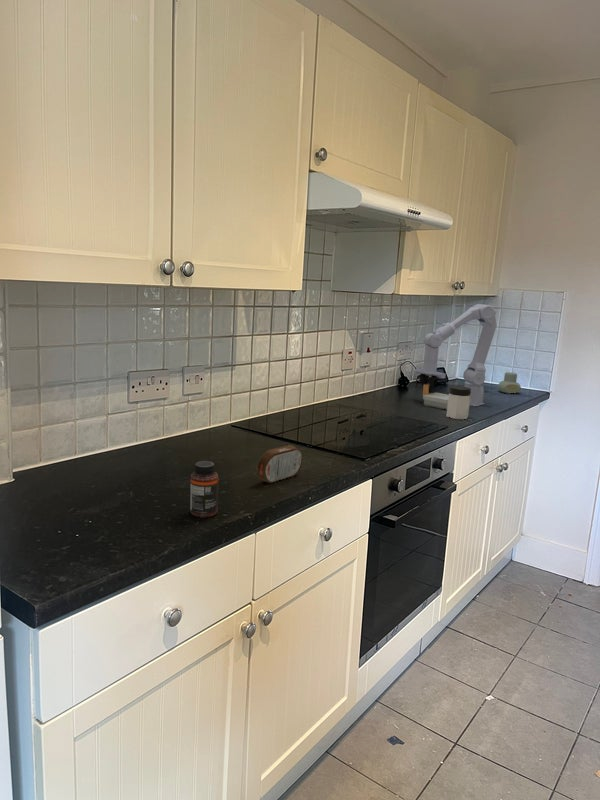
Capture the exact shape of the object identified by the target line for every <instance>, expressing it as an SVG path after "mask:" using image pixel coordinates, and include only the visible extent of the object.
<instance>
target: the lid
mask: <svg viewBox="0 0 600 800" xmlns="http://www.w3.org/2000/svg"><path fill="white" fill-rule="evenodd" d="M448 397H449V394H446V393H440V392H432V393H429V383H427V384H424V385H423V390H422V399H423V400H424V399H425V400H430V401H436V402H441V403H446V404H448ZM470 403H471V399H470Z"/></svg>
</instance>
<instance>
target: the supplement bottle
mask: <svg viewBox="0 0 600 800" xmlns="http://www.w3.org/2000/svg"><path fill="white" fill-rule="evenodd" d="M194 465H195V466H194V471H193V472H192V473H191V475H190V485H189V487H190V491H189V492H190V494H189V495H190V499H189V500H190V501H189V505H190V507H189V512H190V514H191V515H192V516H194V517H197V518H211V517H213V516H215V515H216V514H217V513H218V510H219V509H218V508H219V507H218V506H219V474H218V473H217V472H216V471H215V463H214V462H212V461H208V460H202V461H200V460H199V461H197V462H195V464H194Z"/></svg>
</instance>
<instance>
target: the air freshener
mask: <svg viewBox="0 0 600 800" xmlns="http://www.w3.org/2000/svg"><path fill="white" fill-rule="evenodd" d="M517 378H518V374H517V373H515V372H509V371H507V372H505V373H504V377H503V380H502V381H500V382H499V383H498V384H497V389H498V390H499V391H500V392H502V393H504V392H505V394H507V393H514V394H517V393H519V392H520V391H521V387H522V386H521V384H520V383H519V382H517Z"/></svg>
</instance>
